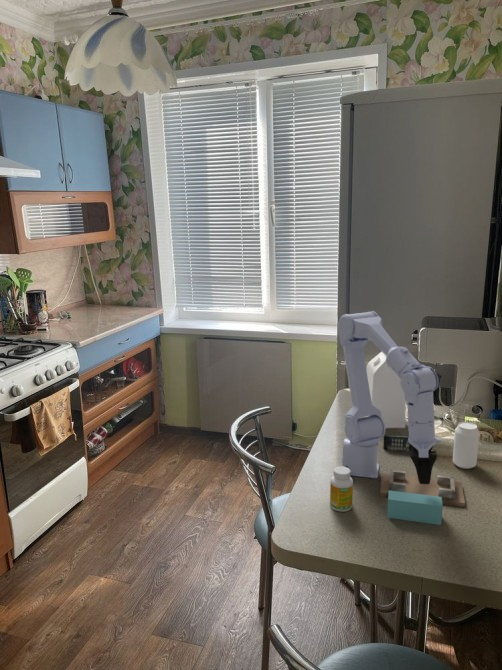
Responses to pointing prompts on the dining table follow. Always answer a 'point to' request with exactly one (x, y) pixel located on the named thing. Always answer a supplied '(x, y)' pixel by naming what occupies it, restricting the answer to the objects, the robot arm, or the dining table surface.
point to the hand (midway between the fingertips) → (423, 477)
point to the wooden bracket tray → (423, 487)
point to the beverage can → (466, 445)
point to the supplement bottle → (341, 489)
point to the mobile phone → (397, 443)
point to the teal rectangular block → (415, 507)
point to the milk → (386, 392)
